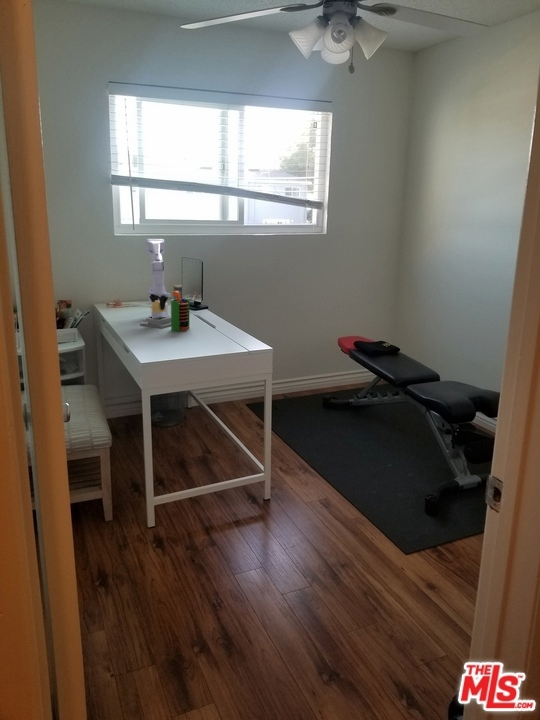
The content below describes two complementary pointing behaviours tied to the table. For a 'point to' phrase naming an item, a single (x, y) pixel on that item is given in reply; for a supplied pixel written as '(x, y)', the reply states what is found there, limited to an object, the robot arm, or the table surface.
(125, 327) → the table surface
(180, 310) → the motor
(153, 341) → the table surface
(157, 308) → the yellow block
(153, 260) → the robot arm
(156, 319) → the chassis plate
